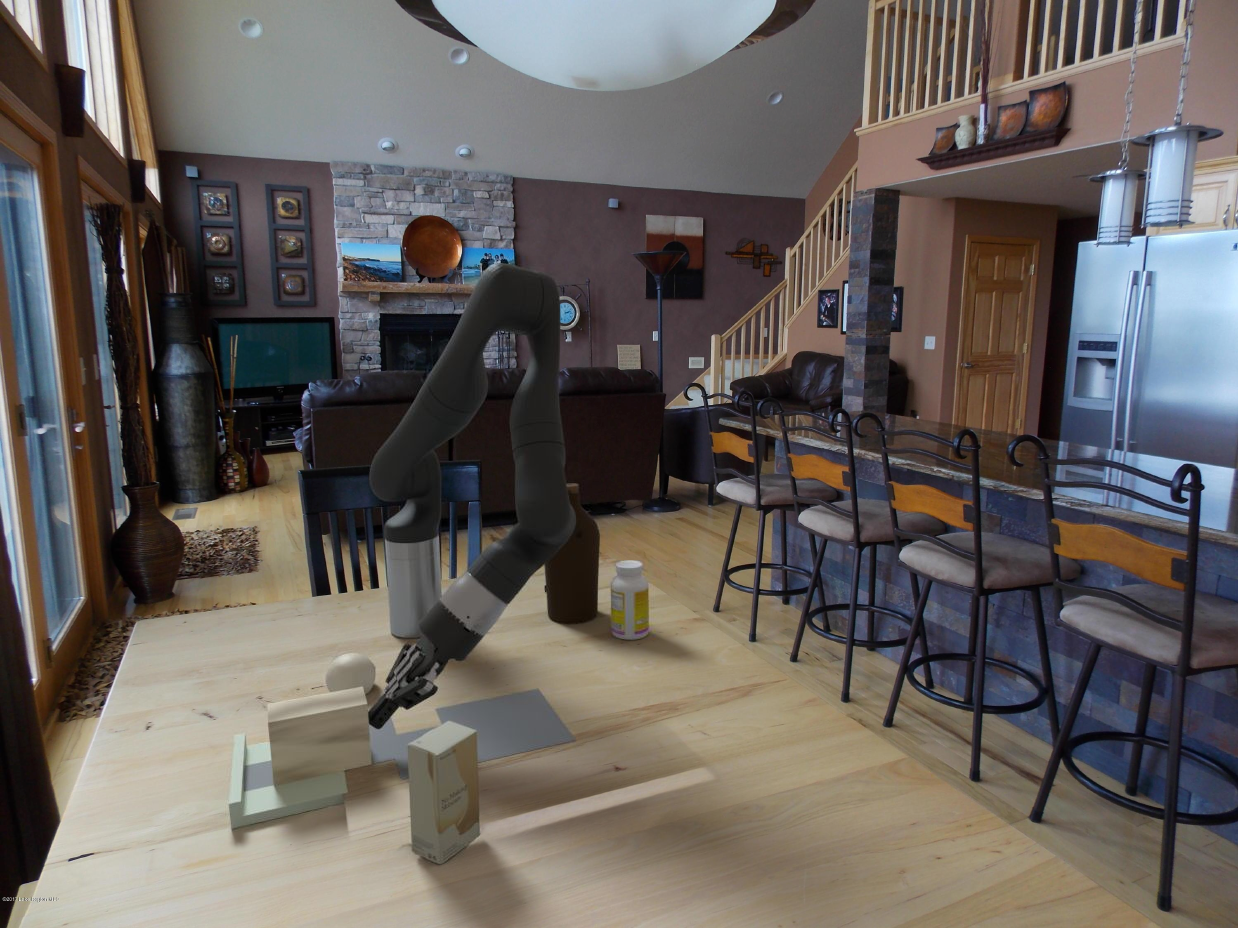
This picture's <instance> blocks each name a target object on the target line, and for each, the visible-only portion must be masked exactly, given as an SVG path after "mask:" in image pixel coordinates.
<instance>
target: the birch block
mask: <svg viewBox="0 0 1238 928" xmlns="http://www.w3.org/2000/svg"><path fill="white" fill-rule="evenodd" d="M368 708H369V707H368V701H367V697H366V694H365V693H364V689H363V687H358V688H352V689H347V690H341V691H336V692H326V693H320V694H315V695H309V696H303V697H297V698H294V699H287V700H286V699H285V700H282V701H276V702H275V701H274V702H270V703H267V727H268V736H269V741H270V750H271V761H272V772H273V782H274V786H276V785H281V784H285V783H290V782H295V781H299V780H304V779H308V778H313V777H317V776H322V775H326V774H331V773H335V772H340V771H344V772H345V771H348V770H354V769H357V768H358V769H359V768H362V767H365V766H366V767H367V766H372V765H373V764H372V763H371V748H370V734H369V720H368V711H369V709H368Z"/></svg>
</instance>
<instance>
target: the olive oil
mask: <svg viewBox="0 0 1238 928" xmlns="http://www.w3.org/2000/svg"><path fill="white" fill-rule="evenodd" d="M566 485H567V491H568V496H569V501H570V504H571V506H572V507H573V509H574V511H575V515H576V525H575V529H574V531H573V533H572V535H571V536H570V538H569V539H568V541H567V542H566V543H565V544H564V545H563V546H562V548H561V549H560V550H559V551H558V552H557V553H556V554H555V555H554V556H553V557H552V558H550V559H549V560H548V561H547V562H546V563H545V564H544V565H543V566H544V574H545V575H544V576H545V577H544V579H545V585H544V593H545V594H546V607H547V608H546V609H547V616H548V618H549V619H550V620H552V621H554V622H556V623H561V624H580V623H581V624H582V623H586V622H590V621H592V620H593V619H595V618H596V617H597V616H598V614H599V613H598V609H599V608H598V607H599V605H598V604H599V601H598V600H599V570H600V567H599V566H600V546H601V545H600V544H601V543H600V542H601V534H600V529H599V526H598V524H597V522H596V520H595V519H594V518H593V517H592V515H591V514H589V513H588V512H587V510H586V509H584V508H583V506H582V505H581V504H580V502H581V501H580V500H581V499H580V491H579V488H580V486H579V485H580V484H578V483H575V482H574V483H573V482H571V483H569V482H566Z"/></svg>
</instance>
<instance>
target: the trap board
mask: <svg viewBox="0 0 1238 928" xmlns="http://www.w3.org/2000/svg"><path fill="white" fill-rule="evenodd" d="M435 711H436V713H437V716H438V719H439V721H440V723H441V725H442V724H444V723H445V722H447V721H452V722H455V723H458V724H461V725H463V726H466V727H469V728H471V729H474V730H477V755H478V764H479V763H483V762H488V761H492V760H497V759H501V758H505V757H511V756H514V755H518V754H525V753H528V752H531V751H536V750H541V749H545V748H549V747H553V746H554V747H555V746H559V745H563V744H569V743H571V742H576V741H577V739H576V738H575V737H574V736H573V734H572V733H571V731H570V730H569V729H568V727H567V726H566V724H565V723H564V722H563V720H562V719H561V718H560V717H559V715H558V714H557V712H556V711H555V709H554V708H553V707H552V705H551V704H550V702H549V701H548V700H547V698H546V697H545V696H544V695H543V694H542V691H541V690H540V689H539V688H533V689H530V690H524V691H520V692H515V693H510V694H505V695H500V696H499V695H498V696H494V697H489V698H483V699H479V700H473V701H472V700H471V701H468V702H463V703H458V704H453V705H447V706H443V707H437V708H435ZM438 726H439V725H436V726H432V727H427V728H421V729H416V730H413V731H407V732H403V733H398V734H397V732H396V729H395V725H394V722H393V719H392V717H390V719H389V720H388V721H387V722H386V723H385V724H384V726H383V727H382V728H381V729H376V728H374V727H373V726H371V725H369V734H370V748H371V763H372V765H376V764H380V763H384V762H389V761H394V760H395V763H396V768H397V771H398V774H399V778H400V781H405V780H409V769H408V747H407V745H408V743H410V742H412V741H414V740H416V739H417V738H419V737H421V736H422V735H424V734H425V733H427V732H428V731H430V730H433V729H435V728H437V727H438ZM231 761H232V763H231V775H230V787H229V795H228V797H229V798H228V811H229V819H230V829H231V830H233V829H235V828H241V827H245V826H249V825H254V824H257V823H261V822H267V821H271V820H276V819H279V818H283V817H287V816H288V817H289V816H293V815H297V814H301V813H305V812H309V811H314V810H317V809H322V808H326V807H333V806H335V805H340V804H344V803H345V798H344V794H347V793H349V792H348V786H347V785H348V784H347V779H346V773H345V770H344V771H340V772H335V773H331V774H326V775H322V776H317V777H313V778H308V779H304V780H299V781H295V782H290V783H285V784H281V785H276V786H274V782H273V772H272V761H271V750H270V740H269V741H265V742H260V743H254V744H250V745H247V739H246V732H244V733H239V734H234V739H233V751H232V760H231Z"/></svg>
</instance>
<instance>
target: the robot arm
mask: <svg viewBox="0 0 1238 928" xmlns="http://www.w3.org/2000/svg"><path fill="white" fill-rule="evenodd" d="M455 327H456V328H455V329H454V332H453V334H452V336H451V338H450V339H449V341H448V343H447V345H446V346H445V348H444V350H443V352H442V354H441V355H440V357H439V359H438V360H437V362H436V363H435V365H434V366H433V368H432V370H431V371H430V372H429V374H428V376H427V378H426V379H425V381H424V382H423V384H422V386H421V388H420V389H419V392H418V393H417V395H416V397H415V398H414V400H413V402H412V404H411V406H410V407H409V409H408V410H407V411H406V413H405V415H404V416H403V417H402V419H401V421H400V422H399V423H398V425H397V427H396V428H395V430H394V431H393V432H392V433H391V435H389V437H388V438H387V440H386V441H385V442H384V443H383V445H381V447H380V448H379V449H378V450H377V452H376V454H375V455H374V458H373V459H372V462H371V465H370V468H369V485H370V489H371V491H372V492H373V494H374V495H375V497H377V498H378V499H379V500H382V501H384V502H390V503H391V502H392V503H397V502H404V501H406V503H405V505H404V506H403V507H402V508H401V510H400V511H399V512H397V513H396V514H395V515H393V516H392V517H390V518H389V519H388V520H386V522H385V523H384V529H383V533H384V546H385V557H386V558H385V561H386V575H387V578H386V579H387V591H388V592H387V593H388V606H389V607H388V611H389V625H390V626H389V627H390V632H391V634H392V635H394V636H395V637H399V638H405V639H412V638H413V639H414V638H415V639H416V638H419V639H418V640H416V642H415V643H413V644H412V645H411V644H410V643H408V642H406V643H405V644H404V645H403V646H402V648H401V649H400V652H399V653H398V655H397V657H396V659H395V661H394V663H393V665H392V667H391V669H390V671H389V673H388V675H387V677H386V679H385V683H386V686H385V687H384V689H383V694H382V695H381V696H380V698H378V700H377V701H376V702H375V703H374V704H373V706H371V708H370V709H368V720H369V725H371V726H373V727H374V728H376V729H381V728H382V727H383V726H384V724H385V723H386V722H387V721H388V720H389V719H390V718H392V716H393V715H394V714H395V713H396V712H397V710H398V709H399V708H401V709H402V708H403V709H405V710H407V711H408V710H410V709H412V708H413V707H416V706H417V705H419V704H420V703H422V702H424V701H426V700H427V699H429V698H431V697H433V696H434V695H435V694H437V691H438V690H439V687H438V685H436V684H434V682H435V680H436V679H437V678H438V677H439V676H440V675H441V674H442V673H443V671H444V670H445V668H446V666H447V664H448V663H449V661H450V660H454V661H457V662H464V661H465V660H466V659H467V657H469V655H470V654H471V653H472V652H473V650H474V649H475V648H476V647H477V646H478V644H479V643H480V642H481V641H482V640H483V638H485V636H486V635H487V634H488V632H489V631H490V630H491V629H492V628H493V626H494V625H495V624H496V623H497V622H498V621H499V619H500V617H501V616H502V615H503V613H504V611H505V610H506V608H507V607H508V605H509V604H511V602H512V601H513V600H514V599H515V598H516V597H517V595H518V594H519V593H520V591H521V590H522V589H523V588H524V587H525V586H526V584H527V582H528V581H529V580H530V578H531V577H532V576H533V575H534V574H535V573H537V571H539V570H540V569H541V568H542V567H543V566H544V564H545V563H546V562H547V561H548V560H549V559H550V558H552V557H553V556H554V555H555V554H556V553H557V552H558V551H559V550H560V549H561V548H562V546H563V545H564V544H565V543H566V542H567V541H568V539H569V538H570V536H571V535H572V533H573V531H574V529H575V525H576V515H575V511H574V509H573V507H572V506H571V504H570V501H569V496H568V491H567V485H566V483H567V479H566V473H565V465H566V447H565V446H566V445H565V439H564V432H563V431H564V430H563V424H562V416H561V409H560V408H561V407H560V406H561V405H560V391H559V389H560V361H561V360H560V358H561V354H560V353H561V299H560V292H559V287H558V285H557V283H556V281H555V280H554V279H553V277H552V276H551V275H549V274H547V273H544V272H542V271H538V270H535V269H529V268H526V267H522V266H517V265H514V264H509V263H502V262H497V263H492V264H490V265H489V266H488V267H487V268H486V269H485V270H484V271H483V273H481V275H480V276H479V278H478V280H477V282H476V284H475V286H474V288H473V290H472V293H471V294H470V297H469V299H468V301H467V303H466V306H465V307H464V310H463V312H462V314H461V317H460V319H459V320H458V323H457V325H456V326H455ZM501 331H502V332H505V333H512V334H517V335H521V336H522V335H523V336H526V339H527V343H528V349H529V360H528V361H529V363H528V366H527V369H526V372H525V374H524V376H523V379H522V381H521V383H520V384H519V387H518V388H517V391H516V392H515V395H514V397H513V400H512V403H511V407H510V410H509V411H510V412H509V429H510V441H511V448H512V449H511V450H512V456H513V461H514V466H515V472H514V474H515V475H514V498H515V499H514V502H515V511H516V518H517V521H518V522H517V523H516V524H515V525H514V526H513V527H512V528H511V529H510V530H509V531H508V532H507V534H505V536H504V537H502V538H501V539H498V540H494V541H492V542H491V543H489V545H487V547H486V548H484V549H483V551H482V552H481V553H480V554H479V555H478V556H477V557H476V559H474V561H473V562H472V563H471V564H470V565H469V567H468V568H467V570H465V572H463V573H462V574H461V575H460V576H459V577H458V578H457V579H456V580H454V581H453V583H452V584H451V585H450V586H449V587H448V588H447V589H446V591H445V592H444V593H442V573H441V555H440V537H439V535H440V534H439V527H440V526H439V525H440V523H441V519H442V473H441V472H442V470H441V465H440V461H439V458H438V455H437V454H436V452H435V449H438V447H440V446H441V445H444V444H445V443H446V442H448V441H449V440H450V439H452V438H453V437H455V436H456V435H458V434H459V433H461V431H462V430H464V429H465V428H466V427H467V426H468V425H469V424H470V422H471V421H472V420H473V418H474V417H475V415H476V414H477V412H478V411H479V409H480V408H481V406H482V405H483V403H484V402H485V399H486V398H487V396H488V390H489V380H488V374H487V373H488V372H487V368H486V362H485V357H484V352H485V349H486V347H487V345H488V343H489V341H490V340H491V339H492V337H493V336H494V335H495V334H497V332H501Z"/></svg>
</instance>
